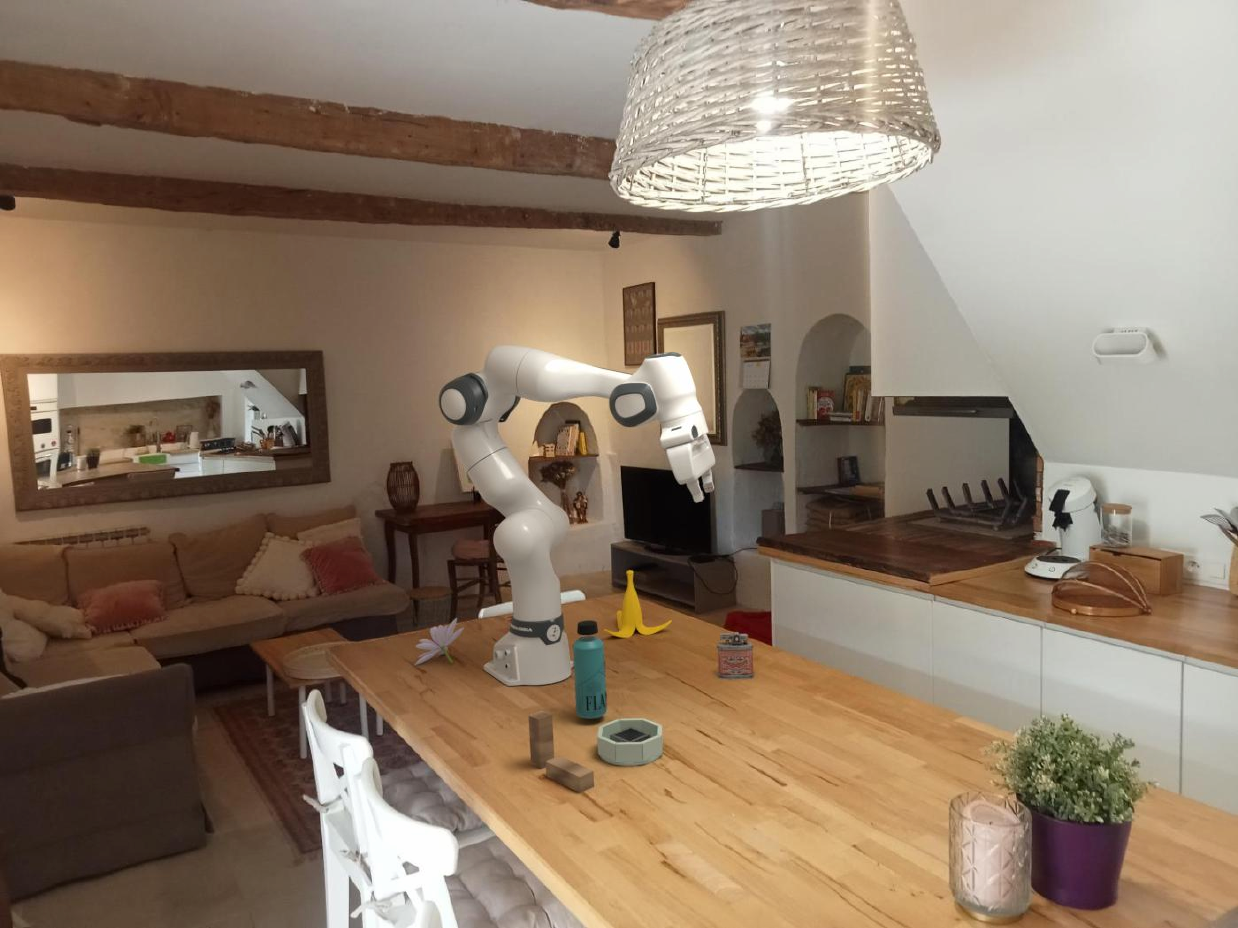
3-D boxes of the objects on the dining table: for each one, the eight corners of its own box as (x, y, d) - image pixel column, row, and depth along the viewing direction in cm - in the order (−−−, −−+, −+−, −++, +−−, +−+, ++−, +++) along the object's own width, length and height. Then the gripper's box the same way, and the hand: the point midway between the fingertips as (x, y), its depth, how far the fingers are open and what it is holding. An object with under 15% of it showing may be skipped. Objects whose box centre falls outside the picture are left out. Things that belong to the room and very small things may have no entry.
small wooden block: (546, 777, 154) (545, 761, 154) (560, 771, 156) (559, 755, 156) (580, 794, 147) (579, 776, 147) (594, 788, 150) (593, 770, 149)
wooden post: (531, 763, 159) (528, 715, 158) (544, 758, 161) (541, 710, 160) (541, 768, 157) (538, 719, 156) (554, 763, 159) (552, 714, 158)
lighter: (753, 673, 201) (752, 630, 200) (754, 679, 198) (753, 635, 197) (717, 674, 202) (716, 631, 201) (717, 679, 198) (716, 635, 197)
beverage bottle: (584, 728, 174) (579, 628, 172) (570, 717, 180) (565, 620, 178) (613, 721, 177) (609, 623, 175) (599, 710, 183) (594, 615, 181)
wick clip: (610, 748, 163) (609, 734, 162) (631, 739, 166) (631, 726, 166) (629, 756, 159) (629, 742, 158) (650, 747, 162) (650, 734, 162)
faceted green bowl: (586, 752, 163) (585, 731, 162) (632, 733, 171) (631, 713, 170) (628, 772, 154) (627, 749, 154) (676, 751, 162) (675, 729, 161)
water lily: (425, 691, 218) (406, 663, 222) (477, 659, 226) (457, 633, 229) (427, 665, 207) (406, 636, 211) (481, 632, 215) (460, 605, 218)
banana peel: (620, 621, 248) (617, 562, 246) (674, 632, 236) (672, 570, 234) (578, 636, 236) (575, 574, 234) (633, 648, 223) (631, 583, 222)
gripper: (683, 427, 189) (701, 489, 190) (657, 441, 170) (678, 510, 171) (711, 419, 187) (729, 482, 188) (688, 433, 168) (709, 502, 169)
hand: (705, 496), depth 179 cm, fingers open, 8 cm apart
